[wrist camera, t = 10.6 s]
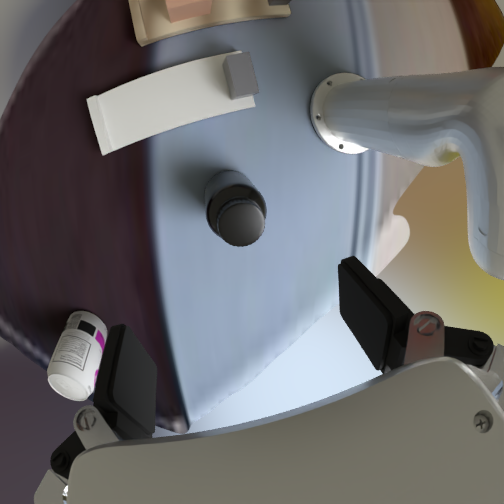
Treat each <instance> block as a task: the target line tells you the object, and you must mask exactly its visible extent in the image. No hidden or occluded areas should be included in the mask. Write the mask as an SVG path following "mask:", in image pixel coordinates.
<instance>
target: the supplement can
mask: <svg viewBox="0 0 504 504" xmlns="http://www.w3.org/2000/svg"><path fill="white" fill-rule="evenodd" d="M106 338H107V329H106V326H105V325H104V323H103V322H102V321H101V320H100V318H98V317H97V316H96V315H94V314H92V313H90V312H86V311H77V312H74V313H72V314H71V315H70V317H69V319H68V321H67V323H66V325H65V328H64V330H63V332H62V334H61V337H60V339H59V341H58V344H57V346H56V348H55V351H54V353H53V356H52V358H51V361H50V364H49V366H48V369H47V373H48V381H49V384H50V385H51V387H52V388H53V389H54V390H55V391H56V392H57V393H59V394H61V395H62V396H64V397H66V398H69V399H71V400H76V401H83V400H86V399H87V398H88V396H89V395H90V394H91V393H92V392H93V390H94V386H95V381H96V377H97V372H98V368H99V364H100V360H101V357H102V353H103V349H104V345H105V342H106Z"/></svg>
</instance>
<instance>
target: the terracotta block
mask: <svg viewBox="0 0 504 504" xmlns="http://www.w3.org/2000/svg"><path fill="white" fill-rule="evenodd" d="M165 1H166V5H167V9H168V13H169V17H170V20H171V23H173V22H177V21H181V20H185V19H189V18H193V17H197V16H202V15H206V14H210V12H211V6H212V0H165Z"/></svg>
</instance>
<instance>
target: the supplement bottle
mask: <svg viewBox="0 0 504 504" xmlns="http://www.w3.org/2000/svg"><path fill="white" fill-rule="evenodd" d="M204 200H205V212H206V219H207V222H208V225H209V227H210V228H211V230H212V231H213V232H214V233H215V234H216V235H217V236H219V237H221V238H222V239H223V240H225V242H227V243H229V244H230V245H233V246H237V247H239V246H241V247H243V246H248V245H250V244H252V243H254V242H256V240H258V239H259V237H260V236H261V235H262V233H263V232H264V228H265V226H264V225H265V219H266V213H267V209H266V203H265V200H264V198H263V196H262V195H261V193H260V192H259V191H258V190H257V189H256V187H255V186H254V185H253V184H252V183H251V181H250V180H249V179H248V178H247V177H246V176H244V175H243V174H241V173H239V172H236V171H224V172H220V173H218V174H216V175H215V176H214V177H212V178H211V179H210V181H209V182H208V184H207V186H206V188H205V193H204Z"/></svg>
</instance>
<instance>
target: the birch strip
mask: <svg viewBox="0 0 504 504" xmlns="http://www.w3.org/2000/svg"><path fill="white" fill-rule="evenodd" d="M290 1H291V0H212V6H211V12H210V14H206V15H202V16H197V17H193V18H189V19H185V20H181V21H177V22H173V23H171V20H170V17H169V13H168V9H167V5H166V1H165V0H129V5H130V10H131V15H132V20H133V25H134V30H135V34H136V39H137V42H138V43H139V44H140V45H141V46H144V45H147V44H150V43H153V42H156V41H159V40H162V39H165V38H169V37H172V36H175V35H179V34H183V33H187V32H190V31H195V30H199V29H203V28H208V27H212V26H218V25H223V24H229V23H235V22H241V21H249V20H257V19H267V18H281V17H288V16H289V15H290V14H291V10H290V7H289V4H288V3H289V2H290Z"/></svg>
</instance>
